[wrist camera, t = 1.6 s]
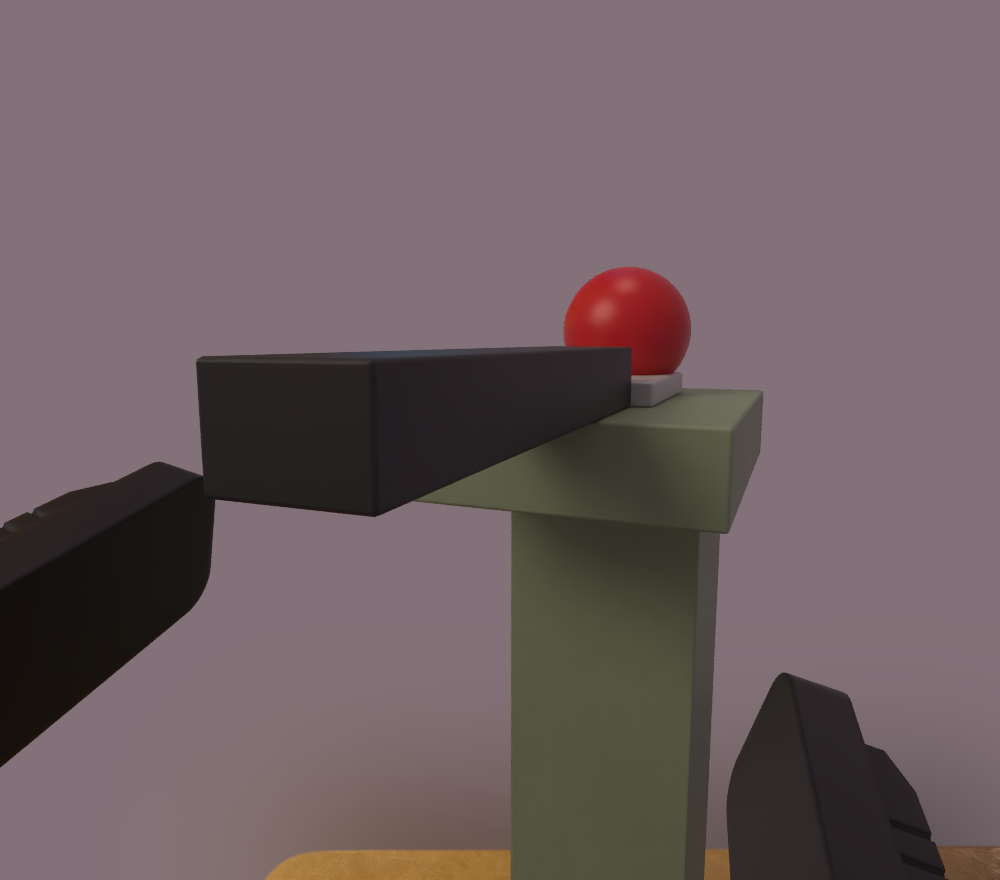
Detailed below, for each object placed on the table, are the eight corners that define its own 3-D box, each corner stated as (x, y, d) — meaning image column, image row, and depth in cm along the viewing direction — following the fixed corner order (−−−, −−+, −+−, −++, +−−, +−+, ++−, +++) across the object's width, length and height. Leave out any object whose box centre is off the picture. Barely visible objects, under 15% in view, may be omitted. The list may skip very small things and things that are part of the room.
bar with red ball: (460, 527, 6) (455, 66, 5) (141, 493, 7) (112, 122, 7) (695, 391, 21) (700, 270, 21) (581, 388, 22) (583, 274, 22)
